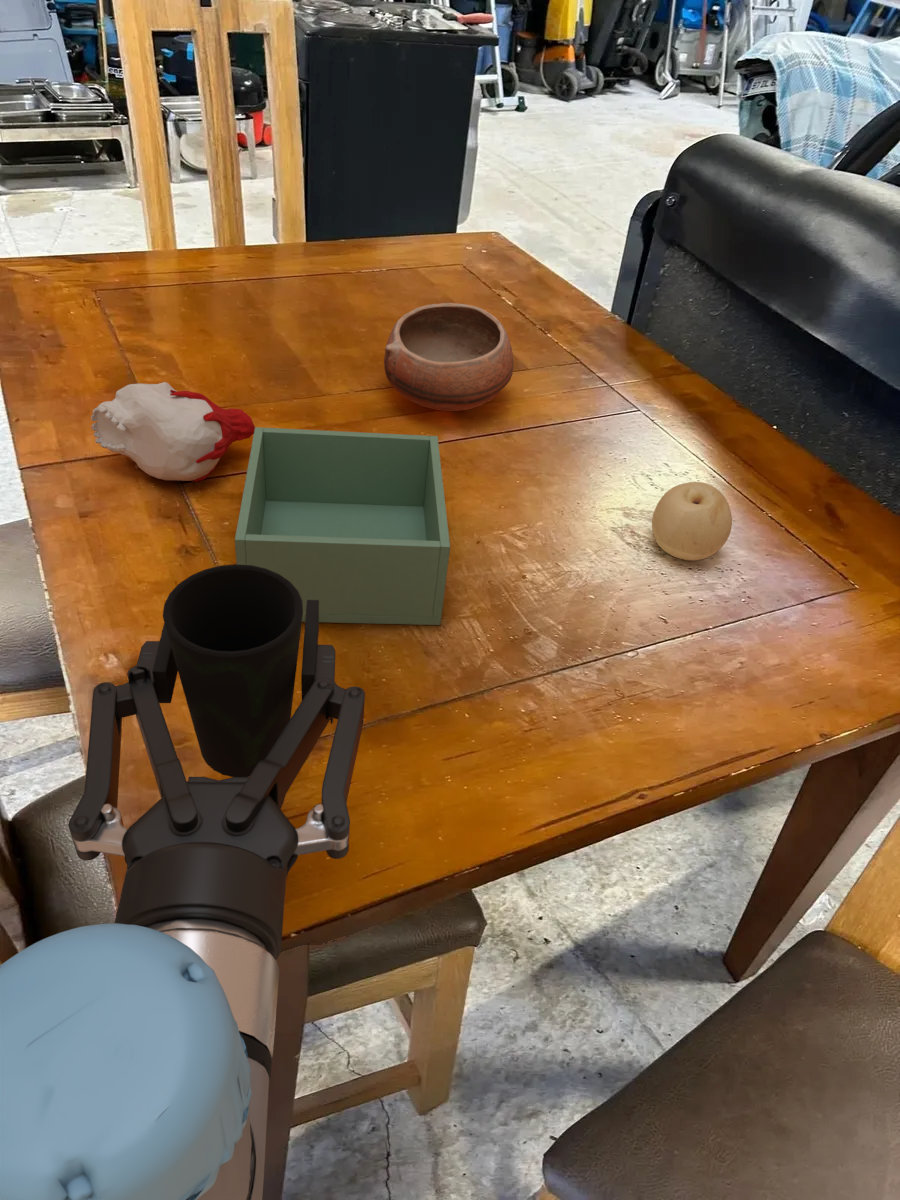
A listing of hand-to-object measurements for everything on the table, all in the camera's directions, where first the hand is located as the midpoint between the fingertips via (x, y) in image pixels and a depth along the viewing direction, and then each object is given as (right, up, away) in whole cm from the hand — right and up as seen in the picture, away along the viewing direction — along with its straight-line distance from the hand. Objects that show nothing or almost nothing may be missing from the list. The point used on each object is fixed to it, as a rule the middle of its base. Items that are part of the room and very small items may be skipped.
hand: (246, 613), depth 57 cm
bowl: (+12, +26, +55) cm, 62 cm away
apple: (+37, +6, +36) cm, 52 cm away
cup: (0, -9, +1) cm, 9 cm away
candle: (-15, +15, +38) cm, 43 cm away
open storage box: (+3, +5, +29) cm, 29 cm away
